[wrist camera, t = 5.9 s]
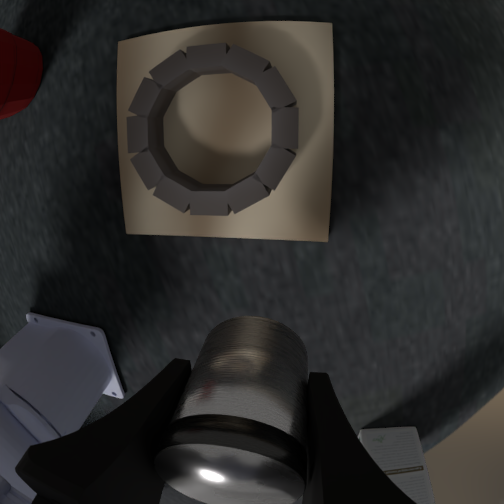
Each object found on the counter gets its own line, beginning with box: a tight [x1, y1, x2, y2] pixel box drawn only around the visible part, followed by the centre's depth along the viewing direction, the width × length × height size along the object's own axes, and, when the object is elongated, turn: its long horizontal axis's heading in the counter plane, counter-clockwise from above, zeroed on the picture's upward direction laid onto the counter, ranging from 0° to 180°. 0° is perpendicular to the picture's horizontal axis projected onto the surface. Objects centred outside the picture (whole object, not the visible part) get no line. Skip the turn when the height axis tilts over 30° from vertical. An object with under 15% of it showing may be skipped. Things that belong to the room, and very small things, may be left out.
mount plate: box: [117, 21, 334, 242], centre depth 15 cm, size 12×12×3 cm
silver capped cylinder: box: [153, 316, 308, 504], centre depth 10 cm, size 4×4×6 cm
